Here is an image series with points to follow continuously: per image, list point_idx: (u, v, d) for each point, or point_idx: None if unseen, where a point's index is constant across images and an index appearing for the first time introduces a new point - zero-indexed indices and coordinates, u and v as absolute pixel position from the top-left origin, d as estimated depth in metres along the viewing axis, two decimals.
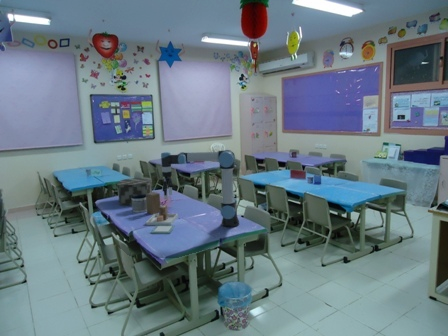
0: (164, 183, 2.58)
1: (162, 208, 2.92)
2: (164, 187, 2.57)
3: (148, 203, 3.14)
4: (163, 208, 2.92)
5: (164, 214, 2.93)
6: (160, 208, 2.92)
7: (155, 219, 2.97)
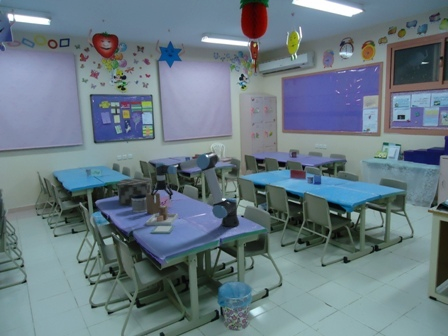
0: None
1: (162, 208, 2.92)
2: None
3: (148, 203, 3.14)
4: (163, 208, 2.92)
5: (164, 214, 2.93)
6: (160, 208, 2.92)
7: (155, 219, 2.97)
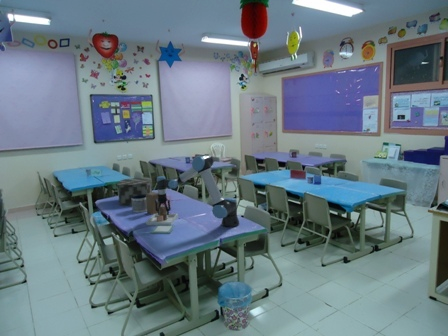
0: None
1: (162, 208, 2.92)
2: None
3: (148, 203, 3.14)
4: (163, 208, 2.92)
5: (164, 214, 2.93)
6: (160, 208, 2.92)
7: (155, 219, 2.97)
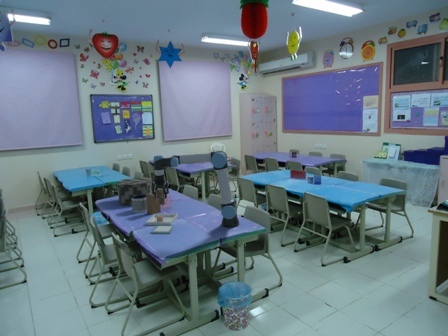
0: None
1: (159, 191, 2.62)
2: None
3: (148, 203, 3.14)
4: (160, 191, 2.62)
5: (162, 198, 2.63)
6: (157, 191, 2.62)
7: (155, 219, 2.97)
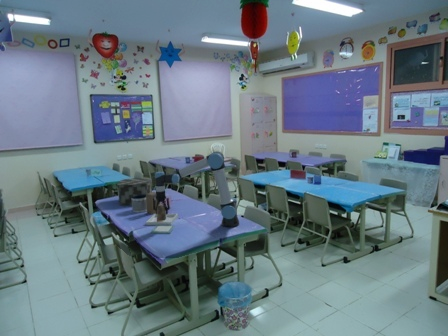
0: None
1: (160, 207, 2.64)
2: None
3: (148, 203, 3.14)
4: (161, 207, 2.64)
5: (163, 213, 2.65)
6: (158, 207, 2.64)
7: (155, 219, 2.97)
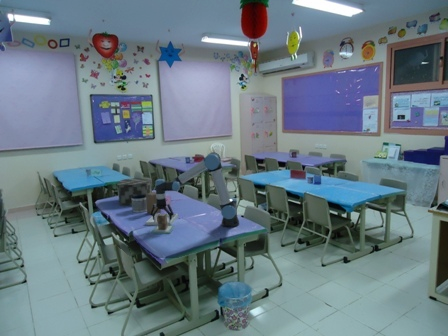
0: None
1: (161, 217, 2.66)
2: None
3: (148, 203, 3.14)
4: (162, 217, 2.66)
5: (163, 223, 2.66)
6: (159, 217, 2.66)
7: None
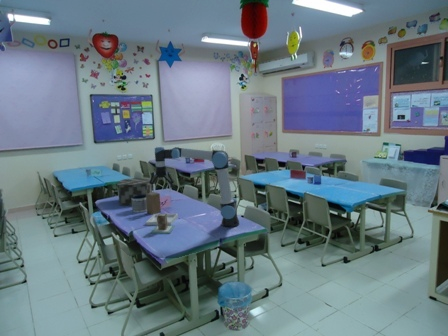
0: None
1: (161, 217, 2.66)
2: None
3: (148, 203, 3.14)
4: (162, 217, 2.66)
5: (163, 223, 2.66)
6: (159, 217, 2.66)
7: (155, 219, 2.97)
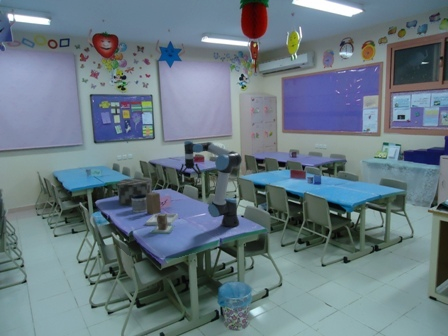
0: None
1: (161, 217, 2.66)
2: (180, 170, 2.91)
3: (148, 203, 3.14)
4: (162, 217, 2.66)
5: (163, 223, 2.66)
6: (159, 217, 2.66)
7: (155, 219, 2.97)
